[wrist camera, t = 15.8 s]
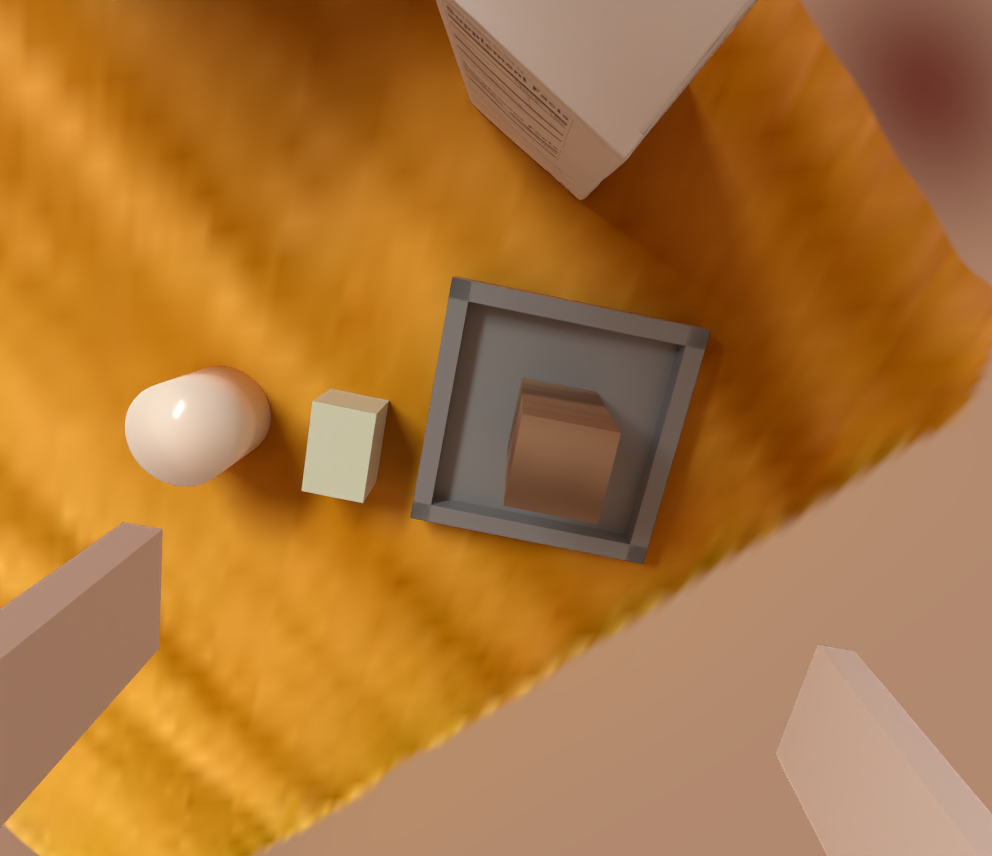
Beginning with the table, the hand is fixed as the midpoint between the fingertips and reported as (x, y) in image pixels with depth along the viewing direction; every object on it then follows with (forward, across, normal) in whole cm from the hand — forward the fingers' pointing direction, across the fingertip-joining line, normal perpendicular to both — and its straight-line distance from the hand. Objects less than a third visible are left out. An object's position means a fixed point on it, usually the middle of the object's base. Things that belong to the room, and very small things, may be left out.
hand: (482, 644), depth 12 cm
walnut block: (+29, +4, -3) cm, 29 cm away
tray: (+29, +4, -3) cm, 30 cm away
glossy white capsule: (+30, -18, -7) cm, 36 cm away
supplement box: (+30, +1, +17) cm, 35 cm away
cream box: (+30, -9, -7) cm, 32 cm away
